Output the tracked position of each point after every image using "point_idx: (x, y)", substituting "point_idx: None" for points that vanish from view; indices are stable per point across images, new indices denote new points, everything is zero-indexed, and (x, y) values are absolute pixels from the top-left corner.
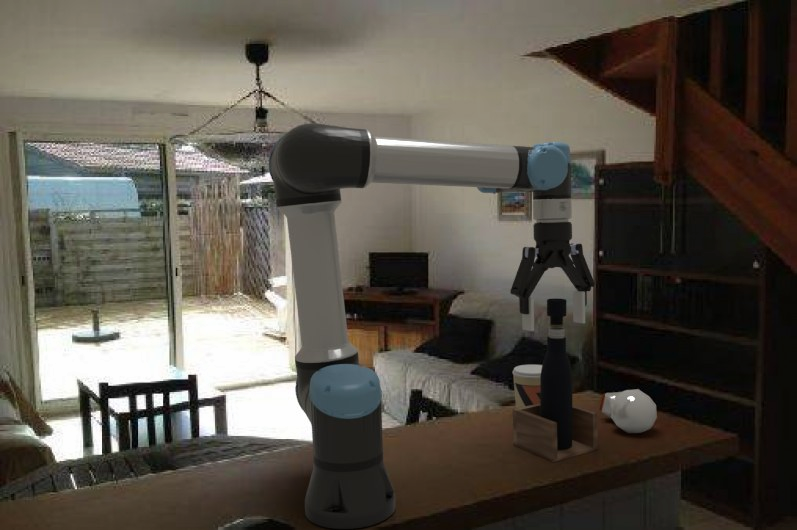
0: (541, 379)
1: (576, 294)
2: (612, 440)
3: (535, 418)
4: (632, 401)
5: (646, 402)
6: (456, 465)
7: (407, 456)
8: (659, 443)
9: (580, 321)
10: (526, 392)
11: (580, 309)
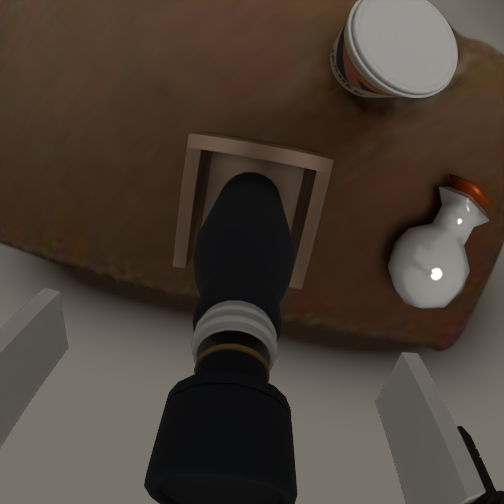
0: (201, 228)
1: (440, 497)
2: (353, 249)
3: (178, 215)
4: (414, 293)
5: (426, 307)
6: (72, 142)
7: (49, 66)
8: (382, 306)
9: (383, 396)
10: (343, 57)
11: (399, 444)
